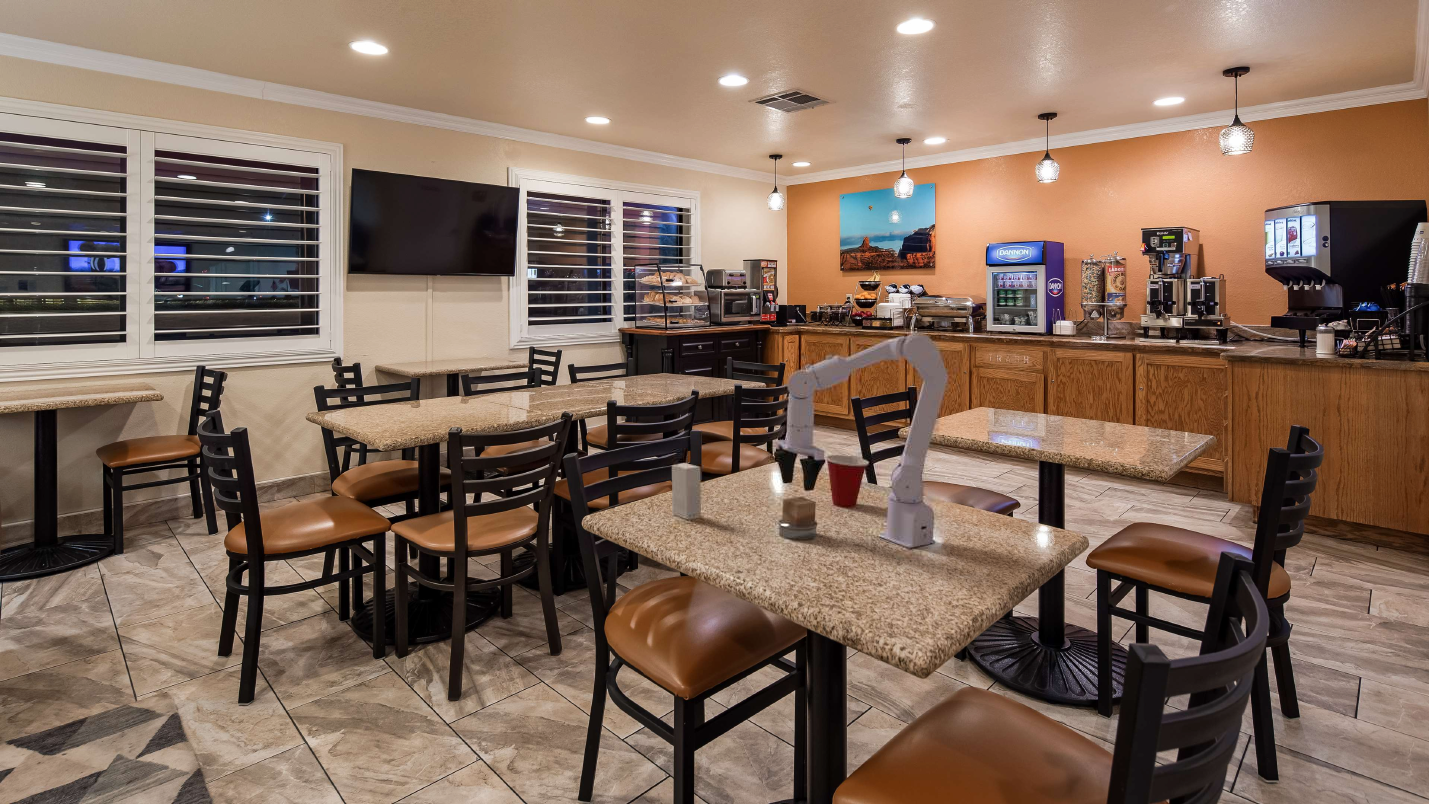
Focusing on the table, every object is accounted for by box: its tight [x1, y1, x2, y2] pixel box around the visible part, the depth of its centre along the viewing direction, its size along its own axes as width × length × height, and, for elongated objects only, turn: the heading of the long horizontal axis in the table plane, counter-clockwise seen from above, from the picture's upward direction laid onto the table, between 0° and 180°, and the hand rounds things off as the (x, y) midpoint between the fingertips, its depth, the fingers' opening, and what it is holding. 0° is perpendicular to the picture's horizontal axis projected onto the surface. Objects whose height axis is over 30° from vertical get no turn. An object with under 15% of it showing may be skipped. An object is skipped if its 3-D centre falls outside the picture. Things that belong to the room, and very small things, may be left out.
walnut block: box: [781, 496, 817, 527], centre depth 161 cm, size 5×5×5 cm
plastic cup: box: [825, 454, 870, 508], centre depth 187 cm, size 11×11×12 cm
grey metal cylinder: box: [778, 518, 818, 542], centre depth 162 cm, size 8×8×3 cm
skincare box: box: [671, 462, 702, 521], centre depth 174 cm, size 6×4×12 cm
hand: (798, 486), depth 164 cm, fingers open, 7 cm apart
